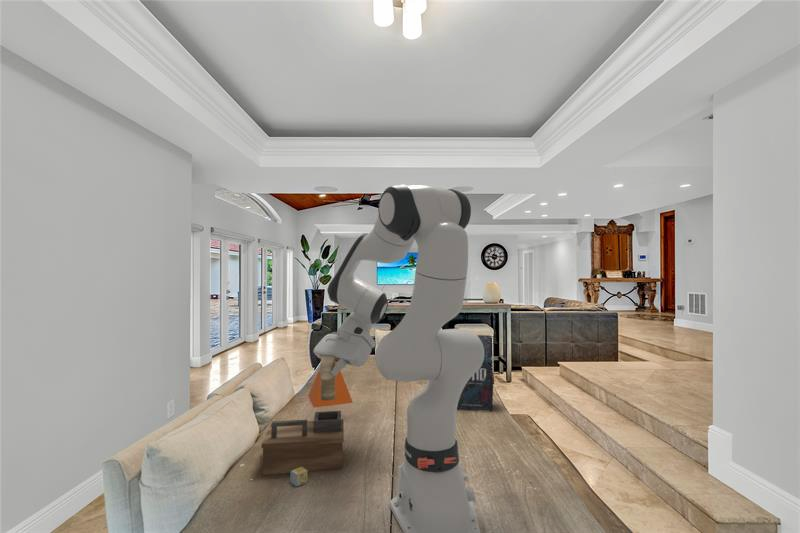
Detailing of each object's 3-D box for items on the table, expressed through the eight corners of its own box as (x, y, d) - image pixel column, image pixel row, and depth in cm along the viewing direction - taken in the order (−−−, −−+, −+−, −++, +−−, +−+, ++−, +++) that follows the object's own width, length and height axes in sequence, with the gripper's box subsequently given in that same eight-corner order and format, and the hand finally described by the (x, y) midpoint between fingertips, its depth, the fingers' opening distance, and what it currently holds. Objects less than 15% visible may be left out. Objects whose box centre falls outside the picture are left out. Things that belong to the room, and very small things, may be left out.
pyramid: (353, 403, 151) (353, 353, 152) (313, 408, 145) (313, 356, 146) (344, 391, 166) (344, 346, 166) (307, 395, 160) (308, 348, 161)
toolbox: (343, 469, 100) (343, 423, 100) (261, 475, 96) (261, 428, 97) (343, 445, 113) (343, 405, 113) (271, 450, 110) (271, 409, 110)
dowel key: (334, 400, 106) (334, 357, 106) (320, 400, 105) (320, 357, 106) (335, 395, 110) (335, 354, 110) (321, 396, 109) (321, 355, 110)
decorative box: (493, 411, 141) (492, 337, 142) (449, 409, 144) (449, 336, 144) (491, 404, 149) (491, 334, 150) (449, 402, 152) (449, 333, 152)
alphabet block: (290, 482, 93) (290, 470, 93) (301, 477, 95) (301, 465, 95) (296, 487, 91) (296, 475, 91) (307, 482, 93) (307, 470, 93)
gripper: (325, 325, 120) (298, 361, 113) (369, 330, 107) (342, 371, 99) (335, 337, 124) (311, 373, 116) (380, 344, 110) (355, 385, 102)
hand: (326, 372), depth 107 cm, fingers closed on dowel key, 4 cm apart
